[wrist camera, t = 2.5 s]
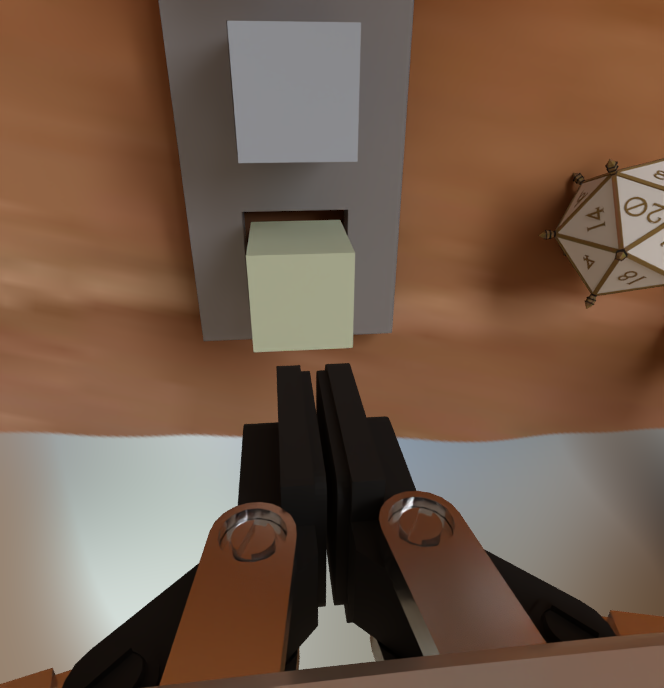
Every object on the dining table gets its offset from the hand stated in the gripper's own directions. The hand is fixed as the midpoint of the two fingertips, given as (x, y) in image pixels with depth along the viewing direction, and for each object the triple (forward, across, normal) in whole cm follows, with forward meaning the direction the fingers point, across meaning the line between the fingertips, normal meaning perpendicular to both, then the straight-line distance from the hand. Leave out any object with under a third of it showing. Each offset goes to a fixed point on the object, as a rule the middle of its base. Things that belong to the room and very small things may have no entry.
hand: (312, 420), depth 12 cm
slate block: (+19, 0, -7) cm, 20 cm away
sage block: (+19, -1, +2) cm, 19 cm away
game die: (+21, -20, 0) cm, 29 cm away
